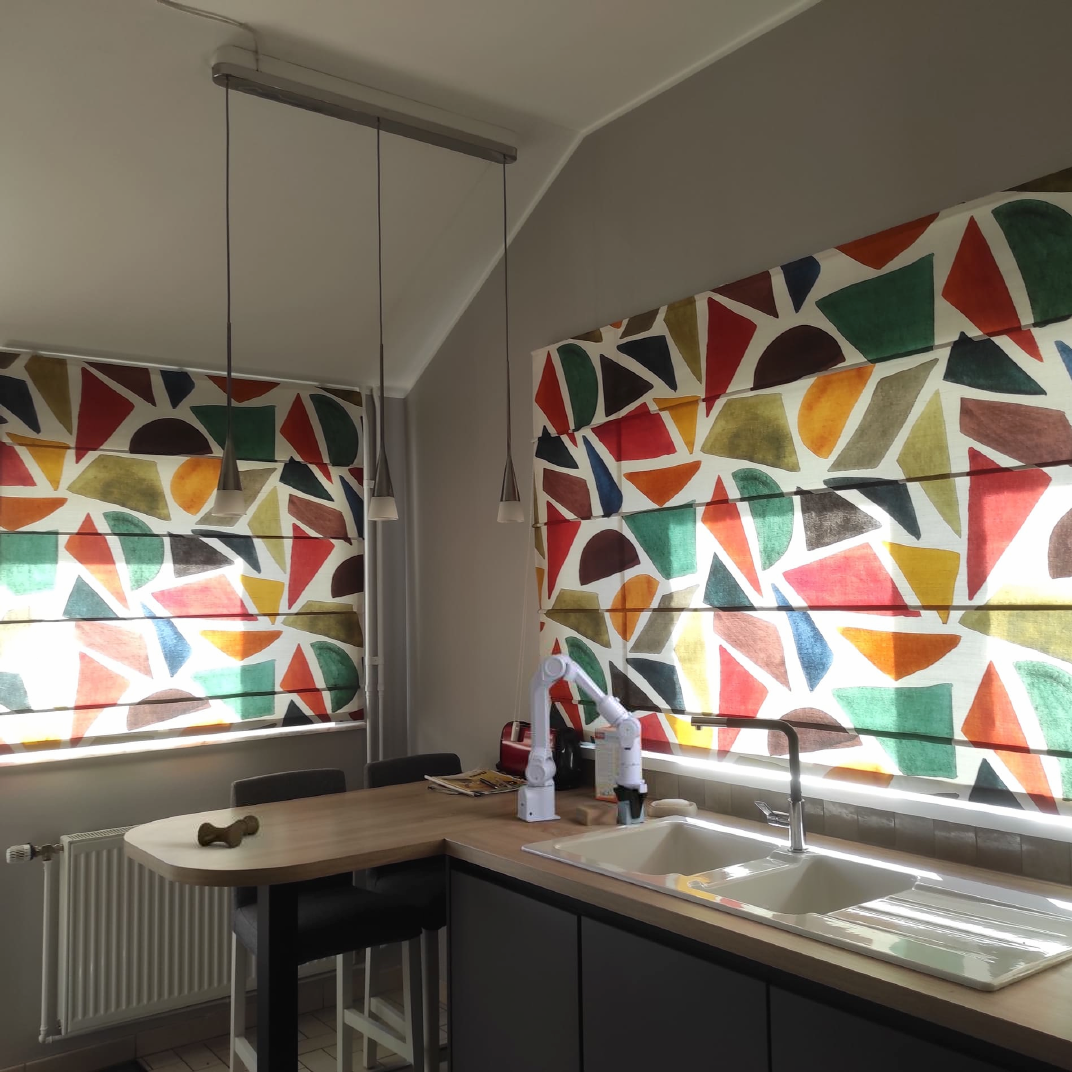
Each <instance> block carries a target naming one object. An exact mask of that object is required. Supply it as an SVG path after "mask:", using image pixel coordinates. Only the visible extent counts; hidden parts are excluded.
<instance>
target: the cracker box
mask: <svg viewBox="0 0 1072 1072" xmlns="http://www.w3.org/2000/svg"><path fill="white" fill-rule="evenodd" d="M638 736H639V739H640V762H641V764H640V765H641V779H643V755H642V750H643V749H642V748H643V747H642V731H641V732H640V734H639V735H638ZM638 736H637V737H638ZM637 737H636V738H637ZM594 759H595V761H594V763H595V764H594V766H595V771H594V772H595V799H596V800H600V801H606V802H611V803H617V802H618V799H617V797H616V795H615V793H614V791H613V788H614V787H617V786H618V785H615V784H614V777H619V737H618V736H617V734H616V728H613V727H612V726H603V727H595V729H594Z"/></svg>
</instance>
